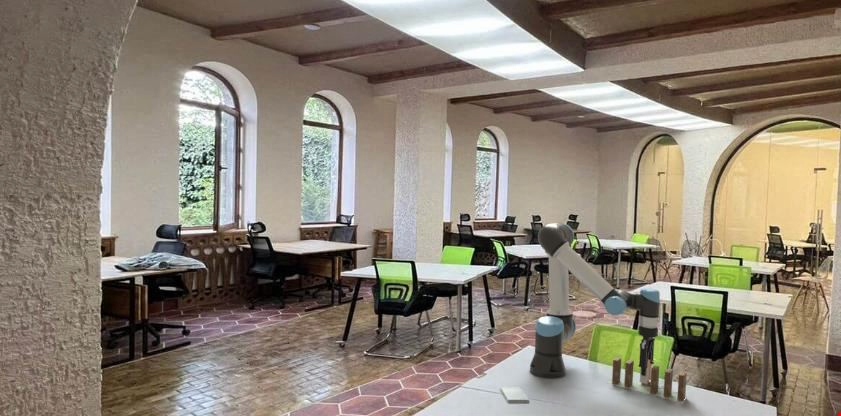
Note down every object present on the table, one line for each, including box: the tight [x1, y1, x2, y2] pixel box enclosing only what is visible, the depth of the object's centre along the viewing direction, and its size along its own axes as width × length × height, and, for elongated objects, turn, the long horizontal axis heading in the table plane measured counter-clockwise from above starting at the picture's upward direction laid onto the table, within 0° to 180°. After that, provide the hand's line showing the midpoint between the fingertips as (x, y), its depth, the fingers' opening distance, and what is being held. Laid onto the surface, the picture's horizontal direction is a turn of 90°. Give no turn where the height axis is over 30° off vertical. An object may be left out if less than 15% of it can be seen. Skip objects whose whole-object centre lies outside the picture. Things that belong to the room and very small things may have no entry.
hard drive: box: [499, 386, 530, 404], centre depth 205 cm, size 2×8×12 cm
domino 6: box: [677, 371, 688, 402], centre depth 206 cm, size 2×5×10 cm, turn 142°
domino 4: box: [649, 365, 660, 395], centre depth 212 cm, size 2×5×10 cm, turn 142°
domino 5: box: [663, 368, 674, 398], centre depth 209 cm, size 2×5×10 cm, turn 142°
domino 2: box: [624, 359, 635, 389], centre depth 218 cm, size 2×5×10 cm, turn 142°
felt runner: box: [607, 379, 688, 404], centre depth 215 cm, size 29×8×1 cm, turn 52°
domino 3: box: [640, 359, 650, 386], centre depth 222 cm, size 2×5×10 cm, turn 142°
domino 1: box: [611, 356, 622, 386], centre depth 221 cm, size 2×5×10 cm, turn 142°
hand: (645, 380), depth 222 cm, fingers closed on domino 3, 5 cm apart
